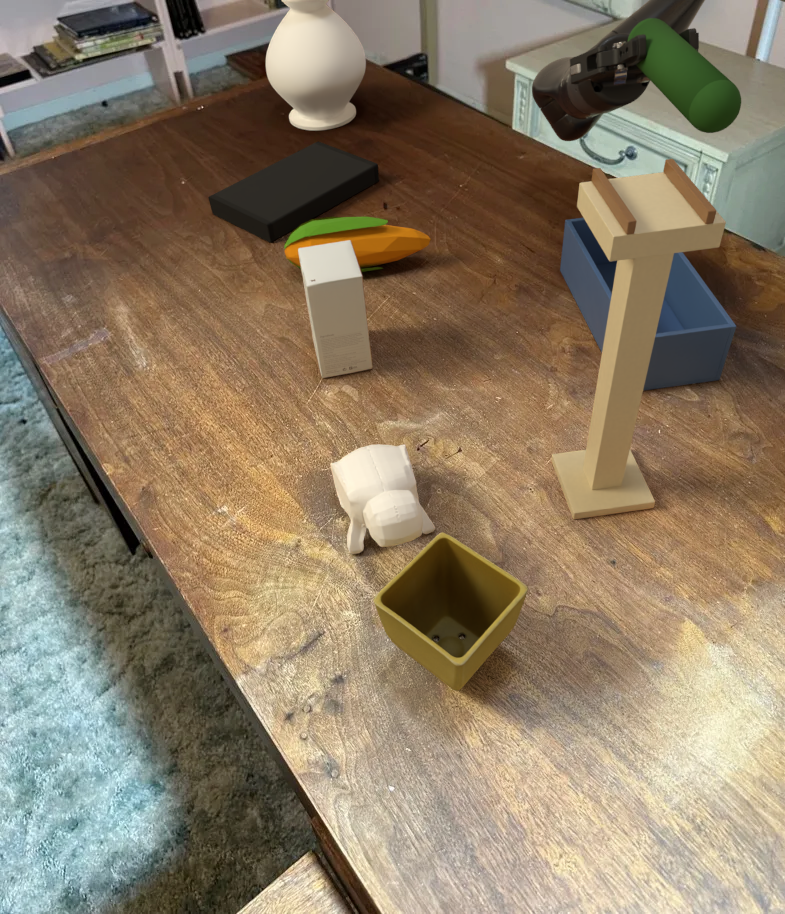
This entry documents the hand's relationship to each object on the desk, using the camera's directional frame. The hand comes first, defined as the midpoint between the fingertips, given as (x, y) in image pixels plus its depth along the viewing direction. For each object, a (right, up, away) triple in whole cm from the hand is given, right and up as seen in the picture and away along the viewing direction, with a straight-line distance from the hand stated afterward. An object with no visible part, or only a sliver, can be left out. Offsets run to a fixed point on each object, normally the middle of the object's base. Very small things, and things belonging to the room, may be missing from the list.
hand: (667, 43), depth 74 cm
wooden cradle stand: (-6, -42, +3) cm, 43 cm away
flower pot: (-22, -57, -9) cm, 62 cm away
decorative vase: (-40, +23, +68) cm, 82 cm away
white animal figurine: (-28, -47, +1) cm, 54 cm away
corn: (-31, -14, +33) cm, 47 cm away
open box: (+3, -23, +20) cm, 31 cm away
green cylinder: (+1, -5, 0) cm, 5 cm away
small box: (-33, -28, +19) cm, 47 cm away
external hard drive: (-42, +1, +47) cm, 63 cm away
